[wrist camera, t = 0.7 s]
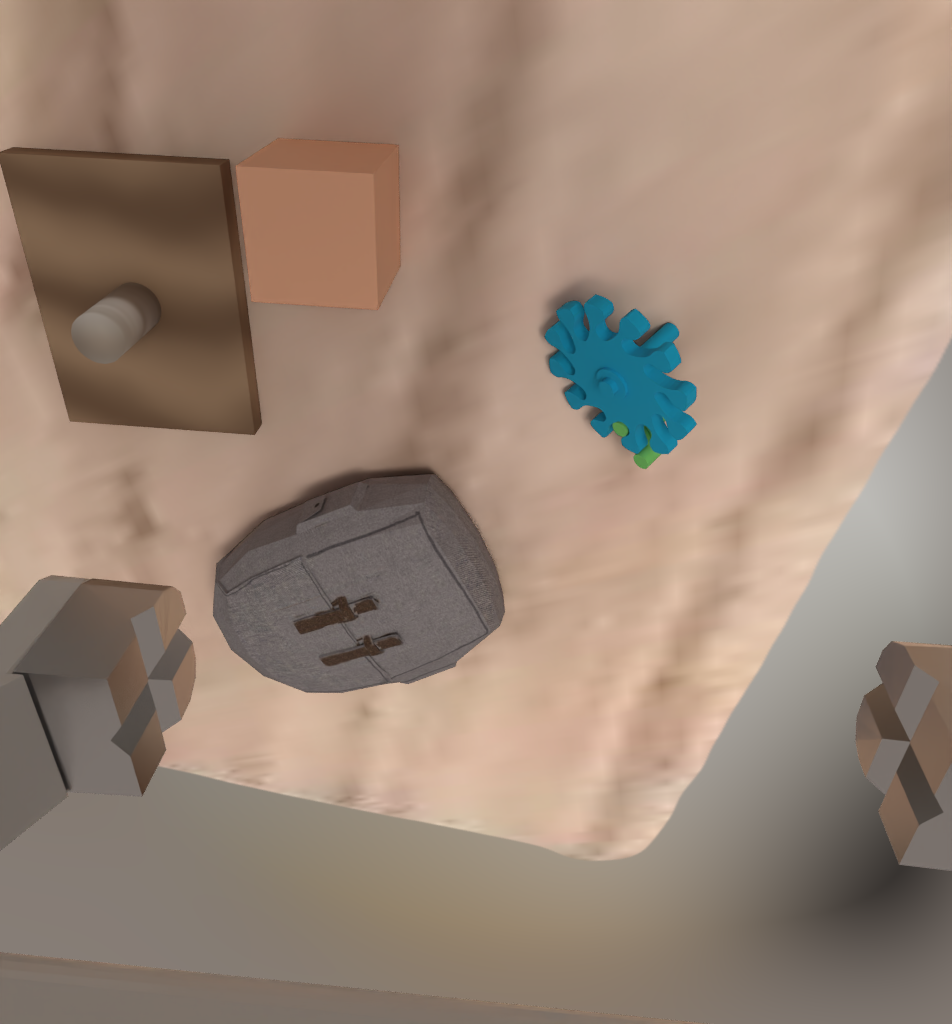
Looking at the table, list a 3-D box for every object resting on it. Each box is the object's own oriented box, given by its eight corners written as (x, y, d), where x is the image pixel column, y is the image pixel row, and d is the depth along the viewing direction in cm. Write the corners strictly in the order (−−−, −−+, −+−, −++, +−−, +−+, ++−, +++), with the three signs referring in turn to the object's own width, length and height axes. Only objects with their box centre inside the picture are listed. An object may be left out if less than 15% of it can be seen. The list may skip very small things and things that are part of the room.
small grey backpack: (431, 429, 53) (186, 529, 59) (412, 499, 46) (137, 605, 52) (529, 598, 60) (301, 672, 66) (525, 681, 53) (270, 755, 59)
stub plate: (13, 147, 45) (-62, 173, 40) (229, 159, 44) (183, 187, 39) (81, 410, 54) (28, 460, 49) (261, 423, 53) (228, 476, 48)
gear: (517, 297, 46) (662, 325, 39) (586, 243, 48) (735, 260, 41) (568, 450, 52) (699, 497, 46) (627, 396, 55) (760, 434, 48)
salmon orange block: (278, 138, 44) (235, 166, 38) (398, 144, 43) (373, 173, 38) (289, 259, 47) (251, 301, 41) (400, 266, 47) (378, 310, 41)
